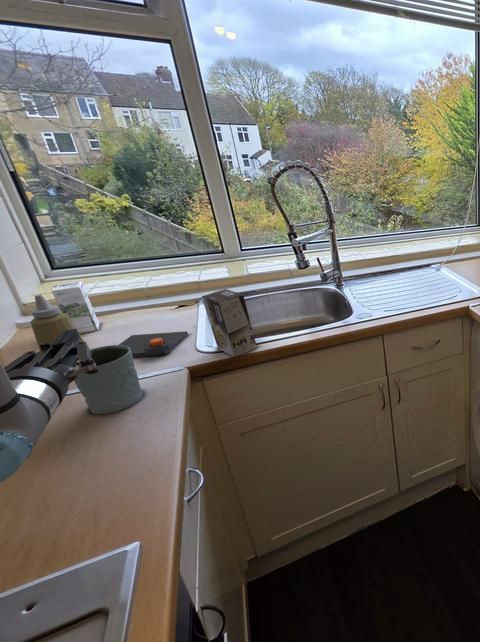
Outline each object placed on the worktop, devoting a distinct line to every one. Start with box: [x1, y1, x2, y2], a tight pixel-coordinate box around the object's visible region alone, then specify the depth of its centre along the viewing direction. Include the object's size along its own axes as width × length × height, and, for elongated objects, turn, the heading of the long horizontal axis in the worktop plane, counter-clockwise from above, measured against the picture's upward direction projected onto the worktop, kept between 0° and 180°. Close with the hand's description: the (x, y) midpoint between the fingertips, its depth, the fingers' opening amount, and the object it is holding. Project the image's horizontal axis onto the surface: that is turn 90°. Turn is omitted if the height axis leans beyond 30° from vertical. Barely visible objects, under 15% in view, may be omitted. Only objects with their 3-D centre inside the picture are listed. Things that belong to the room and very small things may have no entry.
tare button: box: [150, 338, 164, 347], centre depth 109 cm, size 3×3×2 cm
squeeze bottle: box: [29, 294, 85, 351], centre depth 104 cm, size 8×8×18 cm
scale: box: [118, 330, 189, 359], centre depth 112 cm, size 15×13×3 cm
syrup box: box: [51, 280, 100, 335], centre depth 119 cm, size 6×6×14 cm
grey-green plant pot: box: [70, 344, 143, 415], centre depth 88 cm, size 10×10×12 cm
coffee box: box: [201, 288, 257, 358], centre depth 111 cm, size 9×6×16 cm
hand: (72, 335), depth 77 cm, fingers closed
